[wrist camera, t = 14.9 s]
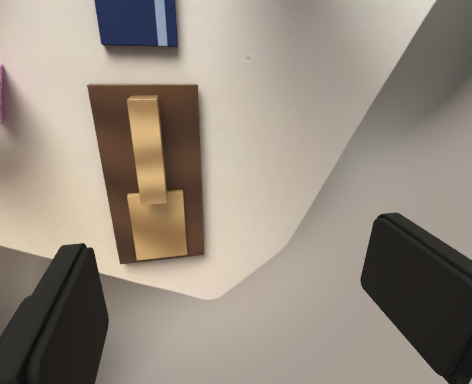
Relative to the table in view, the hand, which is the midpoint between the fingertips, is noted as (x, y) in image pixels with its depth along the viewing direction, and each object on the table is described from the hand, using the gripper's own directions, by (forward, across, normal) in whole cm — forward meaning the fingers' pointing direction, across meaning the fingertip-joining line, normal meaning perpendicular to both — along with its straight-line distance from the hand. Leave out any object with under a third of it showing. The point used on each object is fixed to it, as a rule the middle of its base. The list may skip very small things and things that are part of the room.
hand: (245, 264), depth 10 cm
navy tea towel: (+30, +5, -12) cm, 33 cm away
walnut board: (+30, +5, +8) cm, 32 cm away
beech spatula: (+28, +5, +8) cm, 30 cm away
